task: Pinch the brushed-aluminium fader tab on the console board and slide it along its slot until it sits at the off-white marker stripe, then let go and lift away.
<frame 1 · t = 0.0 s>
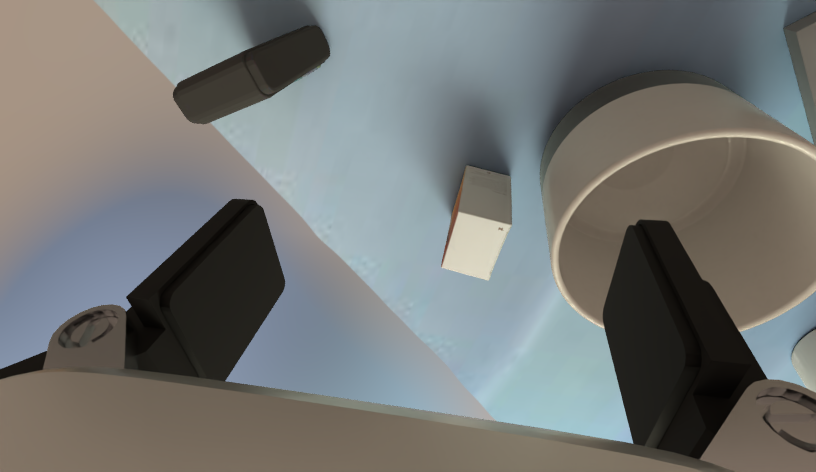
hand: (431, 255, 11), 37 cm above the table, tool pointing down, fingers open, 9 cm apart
card reader: (294, 54, 46), on the table
small box: (479, 196, 51), on the table
planter: (630, 155, 45), on the table
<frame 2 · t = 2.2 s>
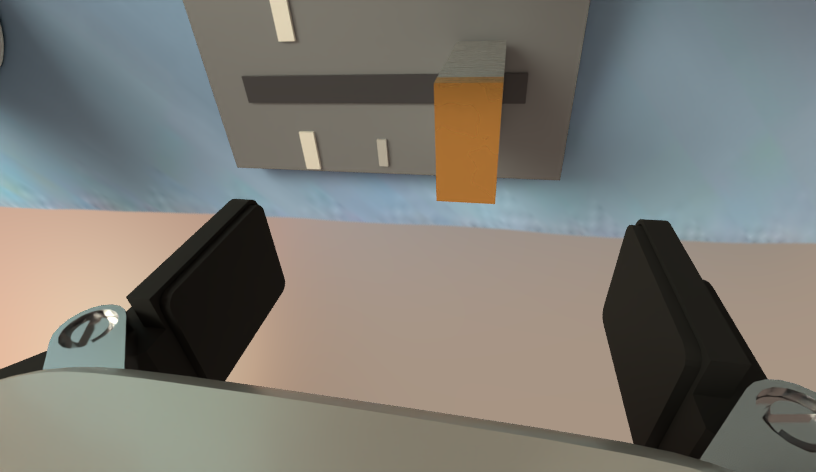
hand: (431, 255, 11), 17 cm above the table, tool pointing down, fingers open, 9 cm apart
console board: (385, 79, 26), on the table
fader tab: (474, 114, 19), point 6 cm above the table, slide at -6.0 cm
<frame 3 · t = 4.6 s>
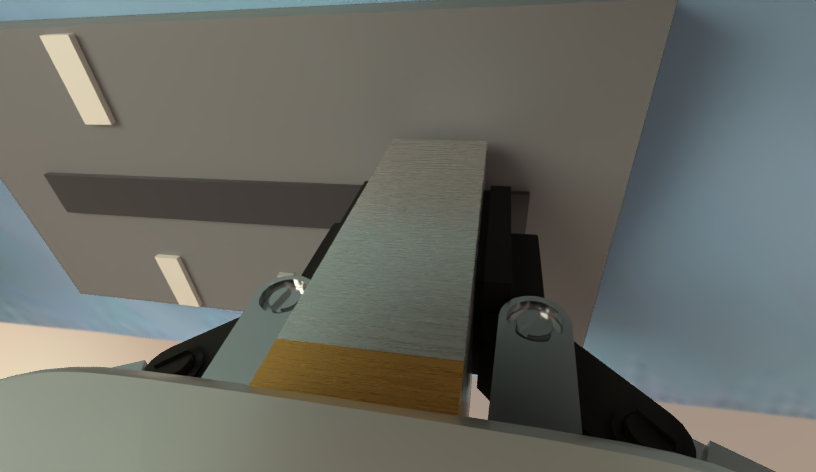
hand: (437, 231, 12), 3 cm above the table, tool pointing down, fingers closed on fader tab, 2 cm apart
console board: (290, 175, 15), on the table
fader tab: (417, 313, 9), point 6 cm above the table, slide at -6.0 cm, touching gripper
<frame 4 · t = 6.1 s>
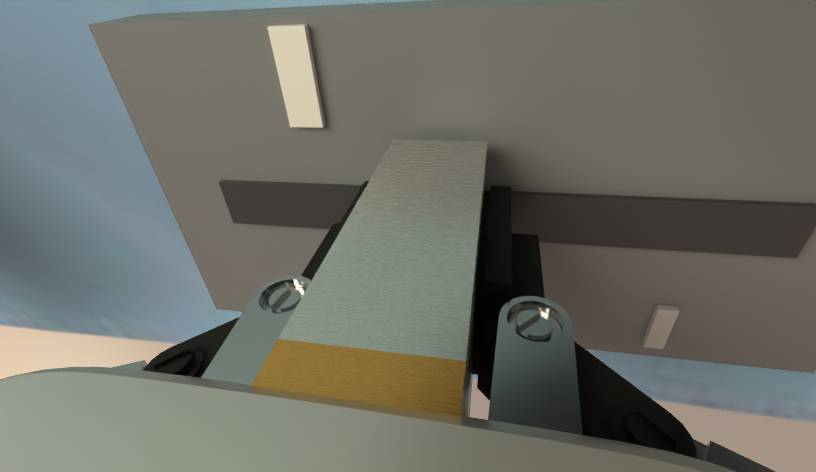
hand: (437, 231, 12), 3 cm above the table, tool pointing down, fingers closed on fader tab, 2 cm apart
console board: (483, 182, 14), on the table
fader tab: (418, 313, 9), point 6 cm above the table, slide at 1.2 cm, touching gripper
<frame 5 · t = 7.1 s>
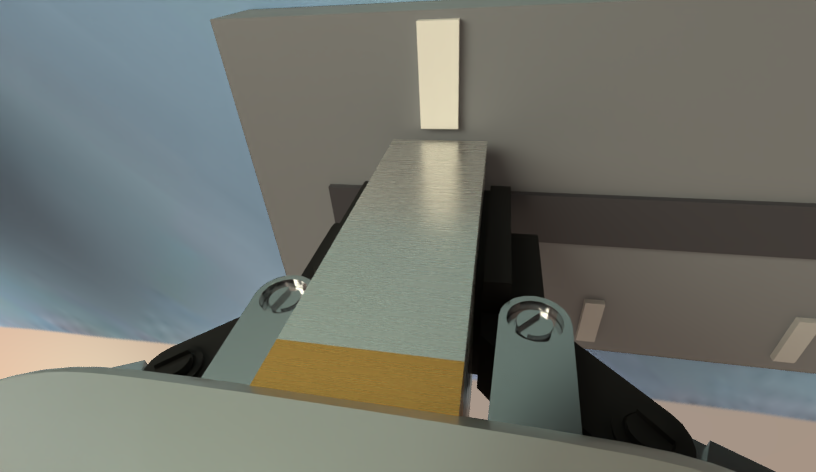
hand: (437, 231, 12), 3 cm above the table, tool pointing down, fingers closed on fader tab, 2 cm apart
console board: (602, 186, 13), on the table
fader tab: (417, 314, 9), point 6 cm above the table, slide at 5.0 cm, touching gripper
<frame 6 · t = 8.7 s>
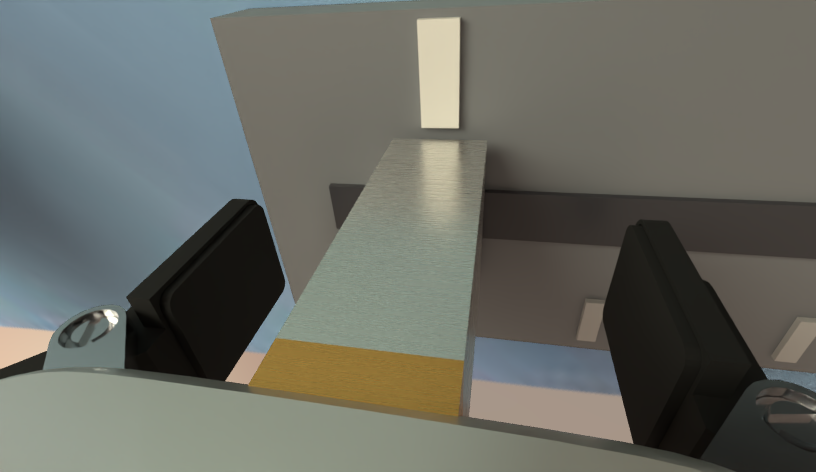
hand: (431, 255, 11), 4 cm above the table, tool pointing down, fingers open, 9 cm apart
console board: (603, 186, 13), on the table
fader tab: (417, 313, 9), point 6 cm above the table, slide at 5.0 cm
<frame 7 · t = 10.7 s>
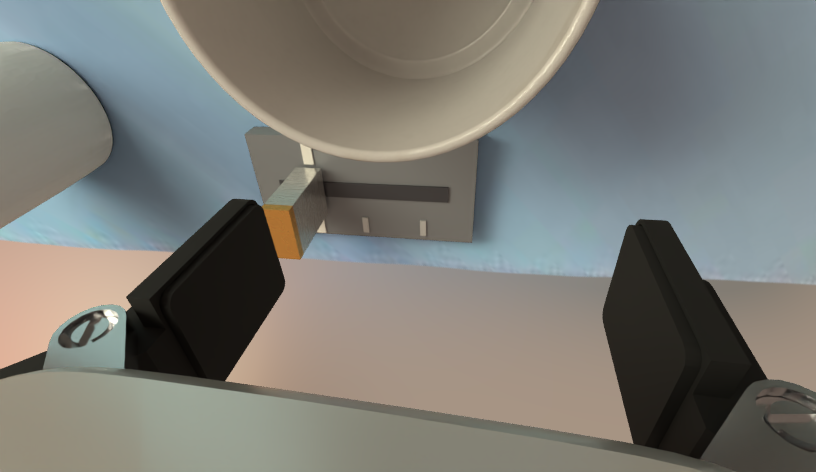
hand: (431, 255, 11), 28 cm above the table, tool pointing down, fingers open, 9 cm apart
console board: (367, 181, 42), on the table
fader tab: (298, 211, 38), point 6 cm above the table, slide at 5.0 cm
utensil holder: (52, 111, 44), on the table
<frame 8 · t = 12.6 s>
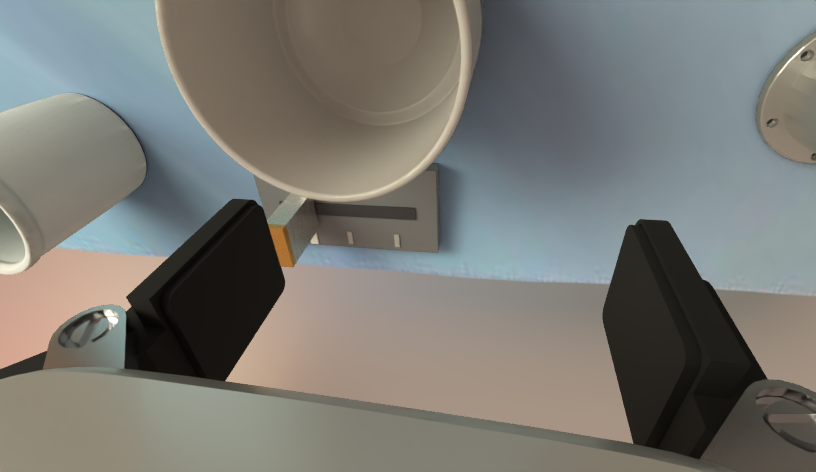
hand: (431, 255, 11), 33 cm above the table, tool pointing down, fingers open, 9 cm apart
console board: (351, 201, 51), on the table
fader tab: (292, 227, 47), point 6 cm above the table, slide at 5.0 cm
utensil holder: (99, 145, 54), on the table
planter: (381, 18, 39), on the table
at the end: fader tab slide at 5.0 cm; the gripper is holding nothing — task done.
